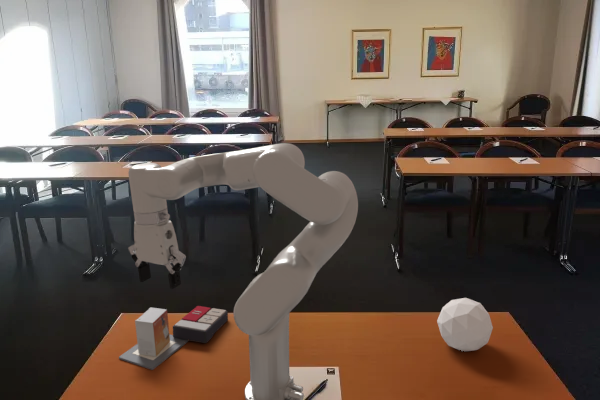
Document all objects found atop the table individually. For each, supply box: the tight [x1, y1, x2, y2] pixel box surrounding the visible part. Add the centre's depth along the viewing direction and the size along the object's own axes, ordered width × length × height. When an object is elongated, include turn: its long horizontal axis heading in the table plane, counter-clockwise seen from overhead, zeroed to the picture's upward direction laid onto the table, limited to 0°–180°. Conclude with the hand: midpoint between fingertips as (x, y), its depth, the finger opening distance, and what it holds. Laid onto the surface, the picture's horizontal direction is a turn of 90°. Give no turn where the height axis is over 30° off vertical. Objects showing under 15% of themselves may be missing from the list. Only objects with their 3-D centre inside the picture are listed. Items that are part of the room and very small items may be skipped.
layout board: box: [118, 333, 189, 371], centre depth 136 cm, size 12×15×1 cm
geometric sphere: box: [436, 297, 494, 352], centre depth 134 cm, size 14×15×15 cm
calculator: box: [172, 305, 229, 344], centre depth 145 cm, size 11×4×15 cm
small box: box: [134, 307, 170, 356], centre depth 134 cm, size 8×6×10 cm
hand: (160, 283), depth 116 cm, fingers open, 9 cm apart
